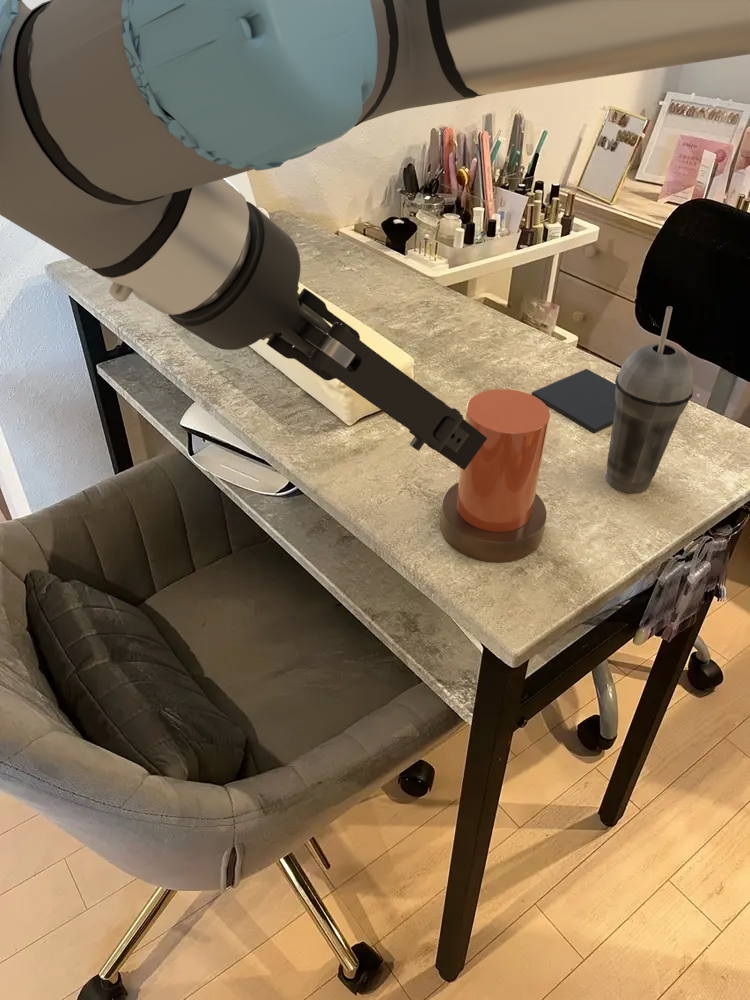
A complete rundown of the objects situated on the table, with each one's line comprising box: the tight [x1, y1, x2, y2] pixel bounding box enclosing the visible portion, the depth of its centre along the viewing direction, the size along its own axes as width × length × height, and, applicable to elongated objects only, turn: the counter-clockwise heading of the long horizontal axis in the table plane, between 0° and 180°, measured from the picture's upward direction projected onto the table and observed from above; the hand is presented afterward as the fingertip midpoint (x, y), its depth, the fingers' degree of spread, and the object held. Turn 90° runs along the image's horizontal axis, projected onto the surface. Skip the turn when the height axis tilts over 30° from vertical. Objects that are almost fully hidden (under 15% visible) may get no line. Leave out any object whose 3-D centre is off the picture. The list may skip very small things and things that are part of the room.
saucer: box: [439, 481, 548, 563], centre depth 74 cm, size 10×10×2 cm
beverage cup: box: [605, 305, 695, 495], centre depth 75 cm, size 7×7×20 cm
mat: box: [531, 368, 616, 434], centre depth 93 cm, size 10×10×1 cm
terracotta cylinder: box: [456, 388, 551, 532], centre depth 70 cm, size 7×7×11 cm
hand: (410, 408), depth 57 cm, fingers open, 13 cm apart
